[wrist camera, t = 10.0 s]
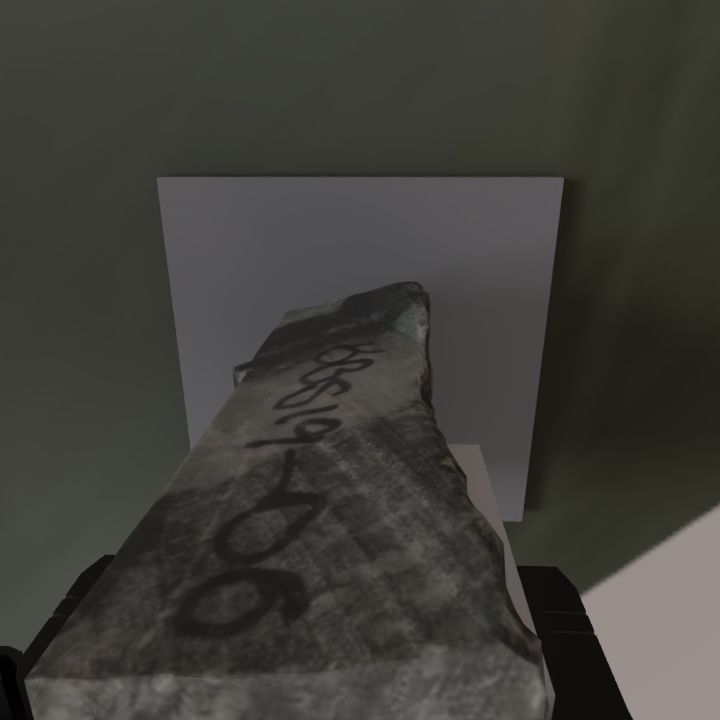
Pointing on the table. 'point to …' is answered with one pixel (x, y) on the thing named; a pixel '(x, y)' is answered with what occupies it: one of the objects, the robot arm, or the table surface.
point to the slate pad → (374, 286)
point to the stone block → (308, 554)
